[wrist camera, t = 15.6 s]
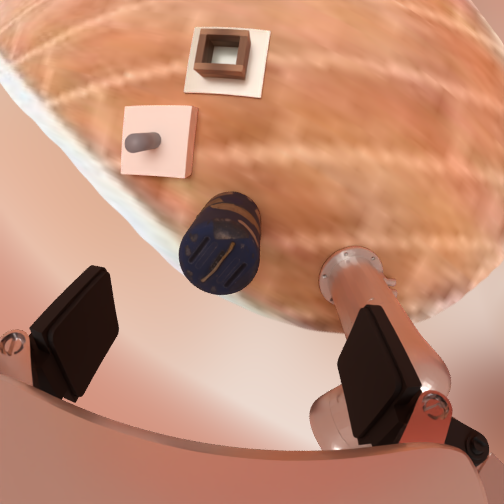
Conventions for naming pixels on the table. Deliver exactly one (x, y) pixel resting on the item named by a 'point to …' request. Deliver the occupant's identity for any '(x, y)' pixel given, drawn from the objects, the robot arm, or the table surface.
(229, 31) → the hollow wooden box
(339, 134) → the table surface
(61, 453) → the robot arm
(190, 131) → the post stand
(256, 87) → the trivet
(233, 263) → the canister
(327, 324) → the table surface
